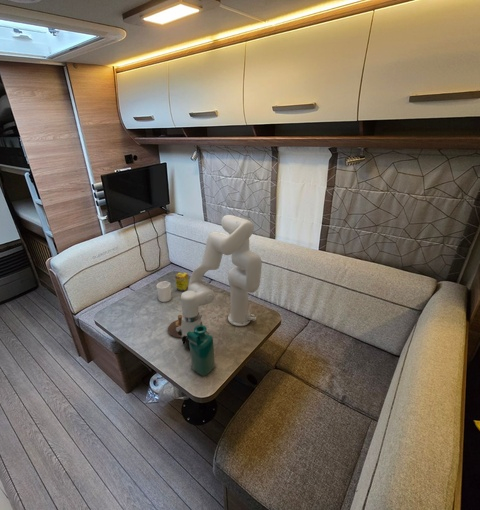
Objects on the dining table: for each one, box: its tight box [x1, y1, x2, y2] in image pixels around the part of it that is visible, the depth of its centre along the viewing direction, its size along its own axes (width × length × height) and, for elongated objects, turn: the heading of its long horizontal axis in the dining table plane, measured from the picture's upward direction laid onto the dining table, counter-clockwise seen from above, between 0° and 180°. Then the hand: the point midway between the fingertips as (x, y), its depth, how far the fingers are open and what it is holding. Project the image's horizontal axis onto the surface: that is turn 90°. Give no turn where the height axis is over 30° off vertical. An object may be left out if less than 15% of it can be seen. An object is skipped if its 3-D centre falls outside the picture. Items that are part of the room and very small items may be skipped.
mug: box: [155, 281, 172, 303], centre depth 176 cm, size 12×8×10 cm
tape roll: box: [185, 337, 190, 352], centre depth 137 cm, size 7×7×4 cm
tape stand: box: [167, 314, 187, 339], centre depth 148 cm, size 14×14×8 cm
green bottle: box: [186, 324, 216, 377], centre depth 120 cm, size 10×8×22 cm
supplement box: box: [175, 271, 189, 292], centre depth 185 cm, size 6×6×11 cm
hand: (193, 344), depth 137 cm, fingers open, 9 cm apart
